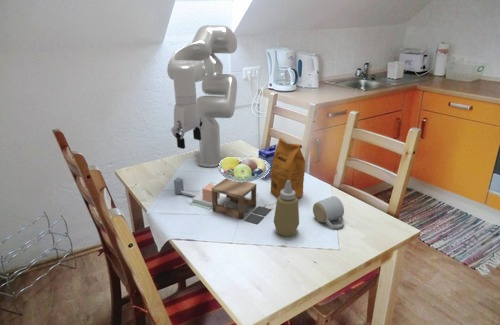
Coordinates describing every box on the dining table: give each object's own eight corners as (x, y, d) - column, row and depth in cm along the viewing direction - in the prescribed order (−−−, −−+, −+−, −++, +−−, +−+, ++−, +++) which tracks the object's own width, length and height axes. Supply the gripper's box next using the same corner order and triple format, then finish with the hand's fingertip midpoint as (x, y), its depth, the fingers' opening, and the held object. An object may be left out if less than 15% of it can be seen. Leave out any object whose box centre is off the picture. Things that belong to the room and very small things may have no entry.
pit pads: (244, 220, 120) (244, 220, 119) (258, 206, 129) (258, 205, 128) (257, 224, 117) (257, 223, 117) (271, 209, 126) (271, 209, 126)
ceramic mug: (310, 217, 122) (312, 197, 119) (328, 211, 125) (331, 192, 122) (330, 232, 113) (332, 212, 110) (349, 226, 117) (352, 206, 114)
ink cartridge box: (265, 180, 149) (266, 148, 143) (257, 176, 153) (257, 145, 147) (282, 174, 155) (283, 143, 149) (273, 170, 159) (274, 140, 153)
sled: (171, 195, 135) (169, 182, 133) (182, 188, 141) (181, 175, 139) (220, 209, 126) (219, 195, 124) (230, 200, 132) (229, 187, 129)
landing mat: (189, 203, 130) (189, 203, 130) (204, 192, 138) (204, 192, 138) (209, 209, 126) (209, 209, 126) (224, 198, 134) (224, 197, 134)
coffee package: (285, 185, 145) (287, 134, 136) (306, 197, 135) (310, 142, 127) (266, 191, 139) (267, 138, 131) (286, 204, 130) (289, 148, 122)
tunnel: (212, 211, 125) (211, 188, 122) (227, 198, 134) (227, 177, 130) (242, 219, 120) (242, 196, 117) (256, 206, 129) (256, 183, 125)
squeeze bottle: (291, 242, 108) (294, 189, 101) (268, 234, 112) (270, 182, 105) (302, 229, 115) (306, 179, 108) (280, 222, 119) (282, 173, 112)
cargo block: (202, 199, 130) (202, 188, 128) (209, 194, 134) (209, 183, 132) (213, 202, 128) (212, 191, 126) (219, 197, 132) (219, 186, 130)
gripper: (192, 93, 136) (195, 135, 143) (161, 103, 122) (166, 149, 130) (208, 95, 133) (210, 138, 140) (178, 106, 119) (182, 153, 126)
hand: (189, 143), depth 135 cm, fingers open, 9 cm apart
